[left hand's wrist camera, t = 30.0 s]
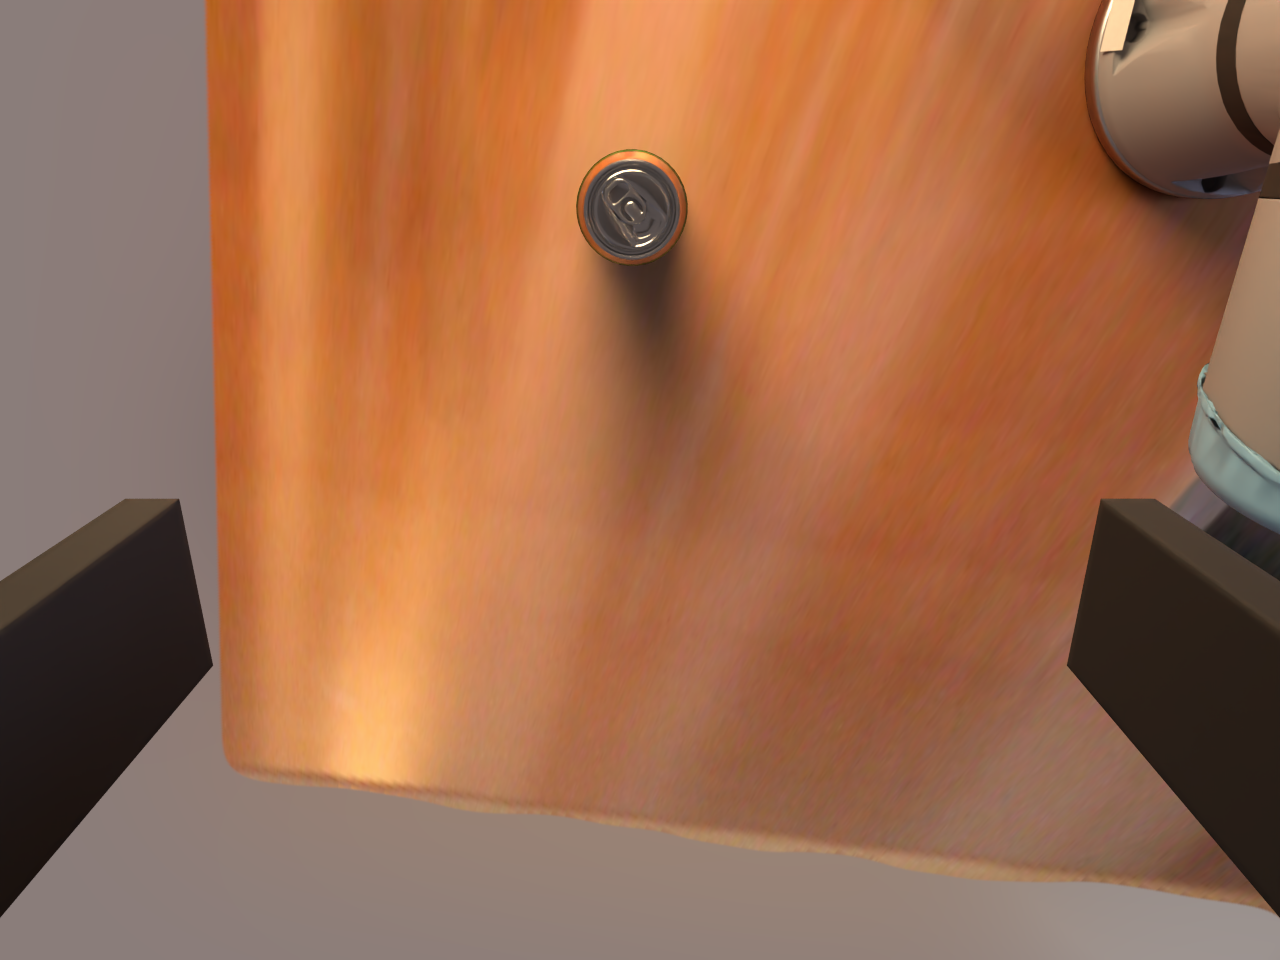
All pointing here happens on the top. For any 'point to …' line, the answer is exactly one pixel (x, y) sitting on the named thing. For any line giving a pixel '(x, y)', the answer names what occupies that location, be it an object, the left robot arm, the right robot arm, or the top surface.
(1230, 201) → the top surface
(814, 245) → the top surface
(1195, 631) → the left robot arm
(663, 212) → the soda can
